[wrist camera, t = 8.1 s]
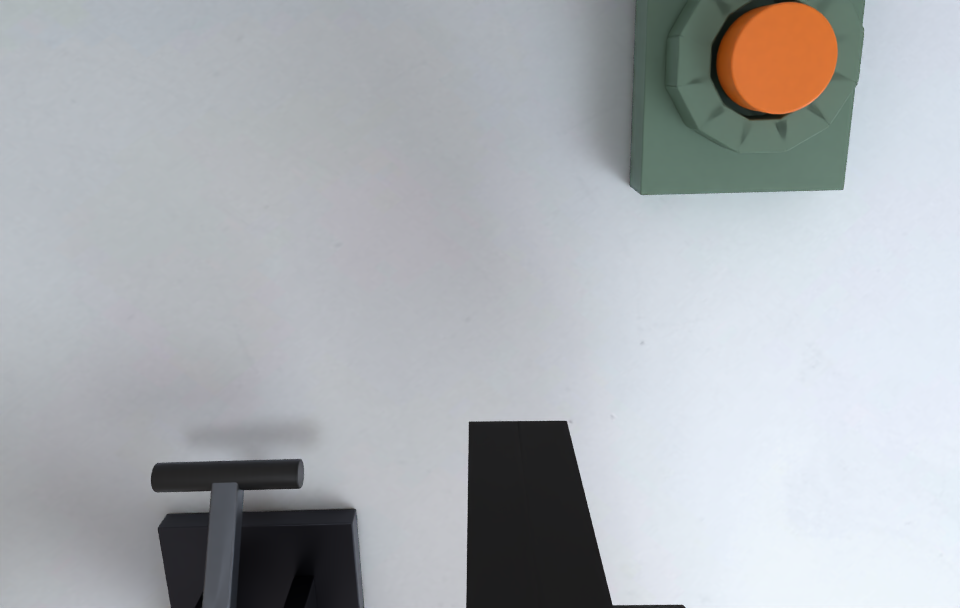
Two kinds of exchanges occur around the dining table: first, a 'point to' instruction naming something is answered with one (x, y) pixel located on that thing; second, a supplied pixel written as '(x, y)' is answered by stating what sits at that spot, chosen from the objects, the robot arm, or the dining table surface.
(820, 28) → the button
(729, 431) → the dining table surface
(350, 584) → the bracket
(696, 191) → the control block
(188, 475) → the lever
